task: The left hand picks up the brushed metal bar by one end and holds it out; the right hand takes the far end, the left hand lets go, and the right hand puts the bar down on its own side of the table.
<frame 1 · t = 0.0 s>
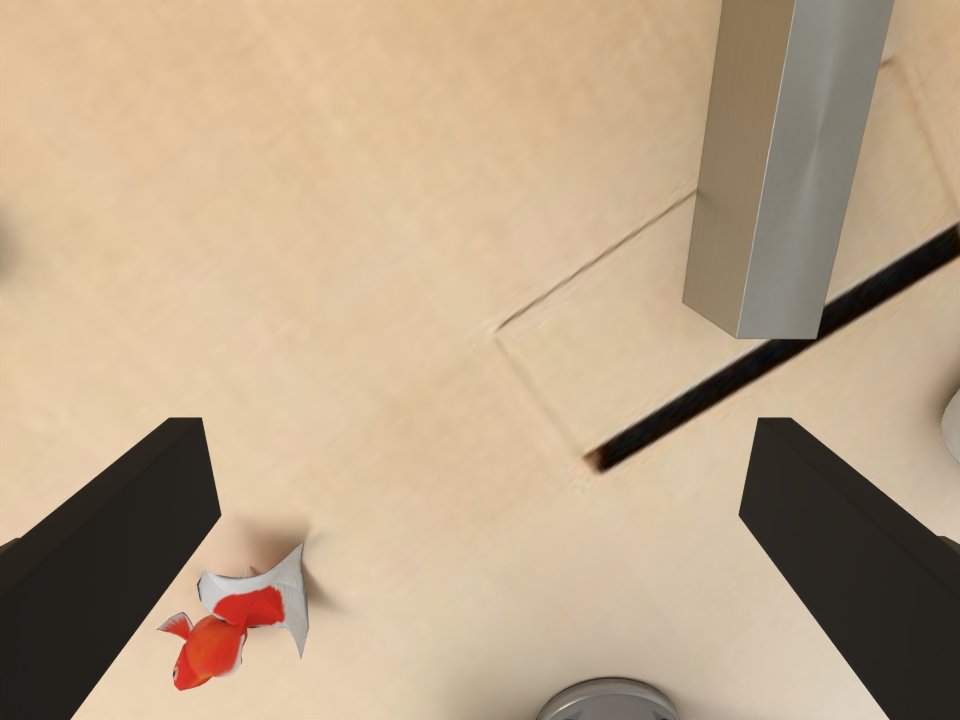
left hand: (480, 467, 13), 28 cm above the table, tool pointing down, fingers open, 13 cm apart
fish: (257, 578, 49), on the table
bar: (738, 145, 36), on the table
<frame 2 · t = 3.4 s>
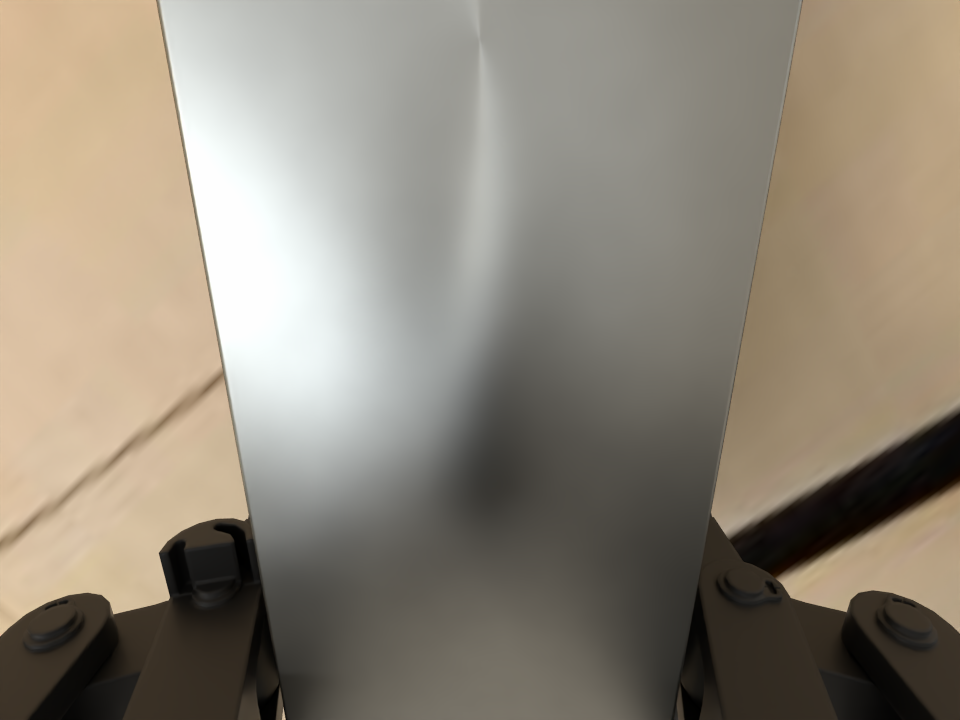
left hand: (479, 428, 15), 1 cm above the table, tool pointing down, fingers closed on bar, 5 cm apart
bar: (479, 125, 12), on the table, touching left hand
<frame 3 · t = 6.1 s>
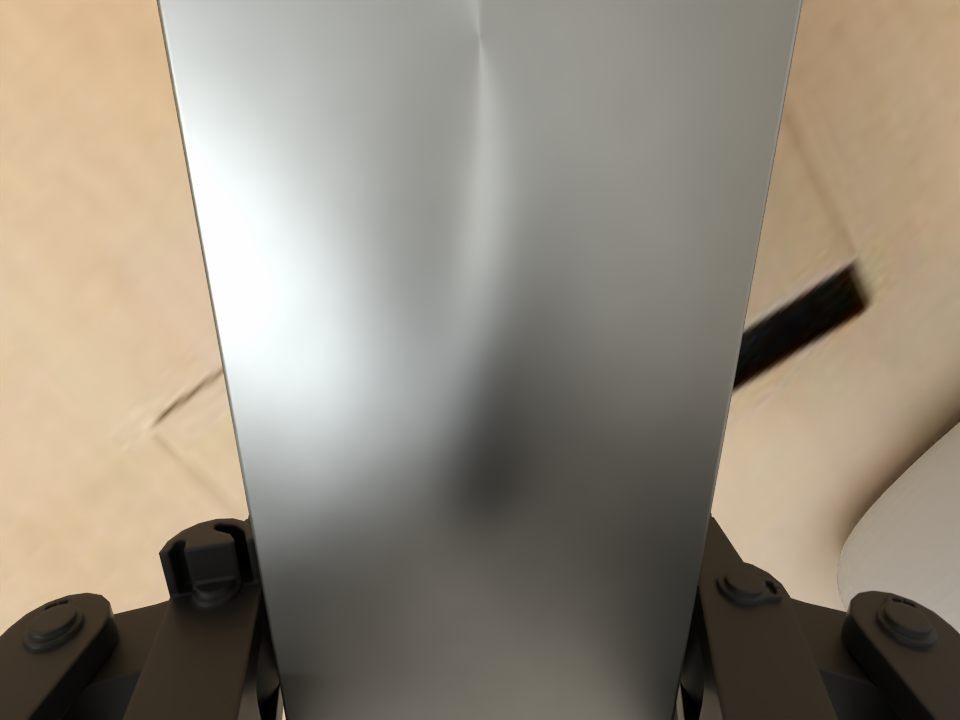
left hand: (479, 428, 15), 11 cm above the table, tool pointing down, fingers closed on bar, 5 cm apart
bar: (479, 124, 12), point 10 cm above the table, touching left hand
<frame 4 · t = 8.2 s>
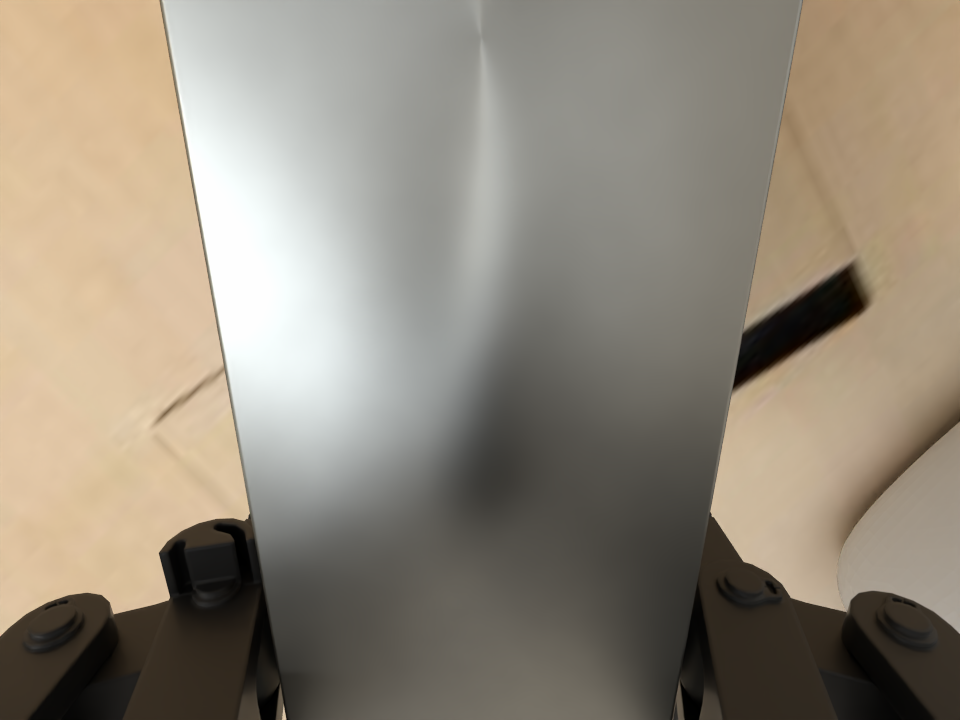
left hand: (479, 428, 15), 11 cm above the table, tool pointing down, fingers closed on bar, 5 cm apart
bar: (480, 124, 12), point 10 cm above the table, touching left hand, right hand
when the left hand's fingers open (11 cm above the table, at t = 9.0 s): bar stays where it is, held by the right hand.
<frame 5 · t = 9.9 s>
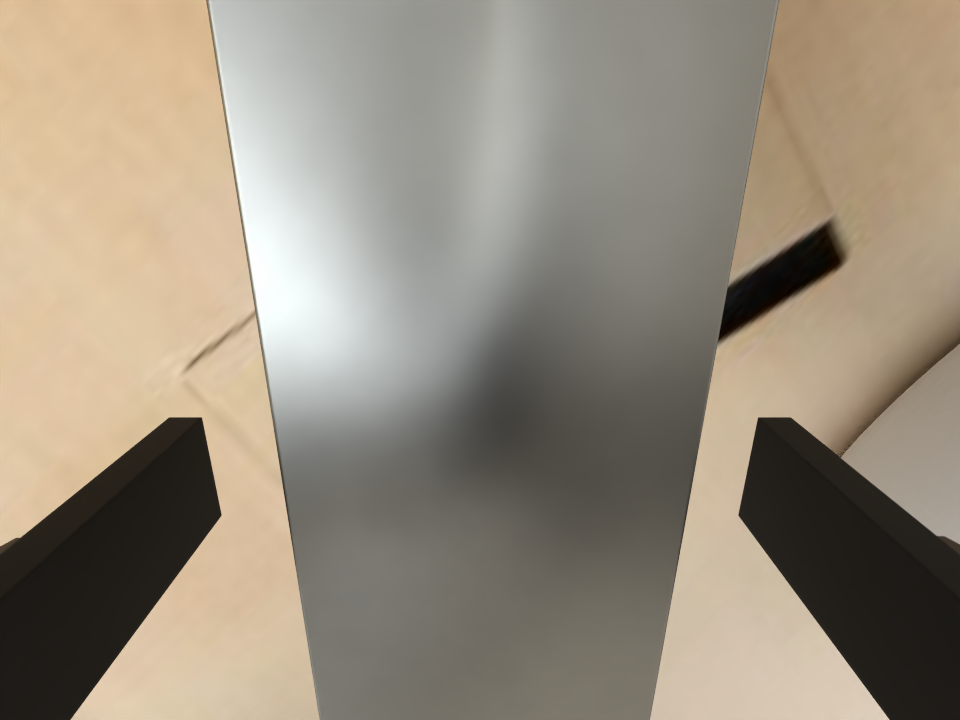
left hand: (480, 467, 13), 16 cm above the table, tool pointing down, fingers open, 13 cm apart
bar: (485, 48, 12), point 12 cm above the table, touching right hand
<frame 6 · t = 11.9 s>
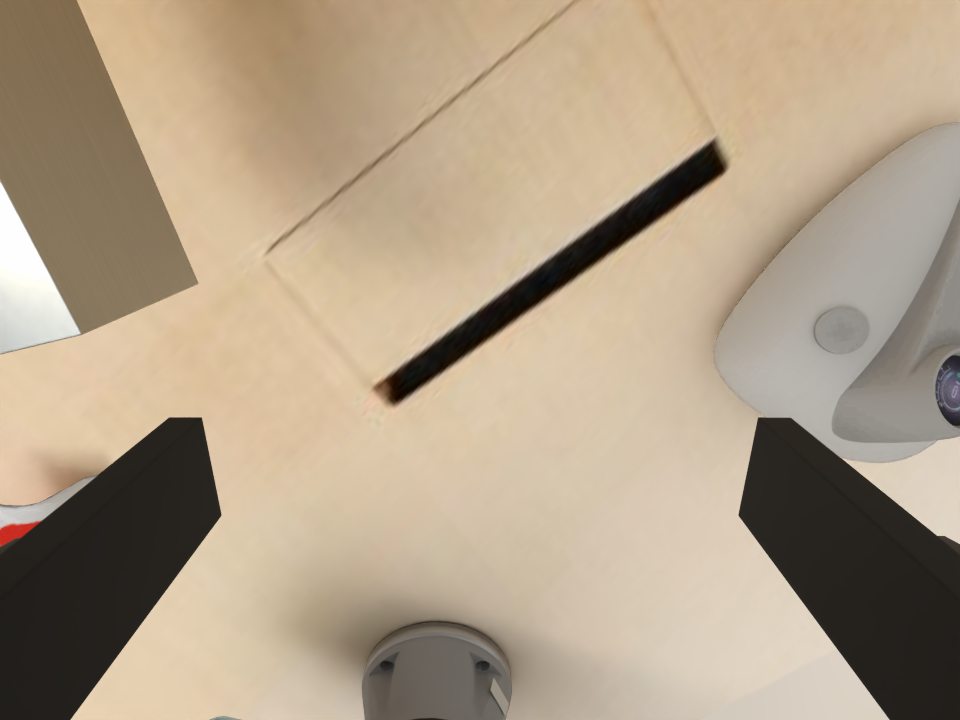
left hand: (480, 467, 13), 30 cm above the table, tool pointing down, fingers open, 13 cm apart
fish: (64, 517, 49), on the table
bar: (54, 70, 25), point 13 cm above the table, touching right hand
projector: (846, 281, 41), on the table
when the right hand's fingers open (4 cm above the table, at t = 15.8 s): bar stays where it is, on the table.
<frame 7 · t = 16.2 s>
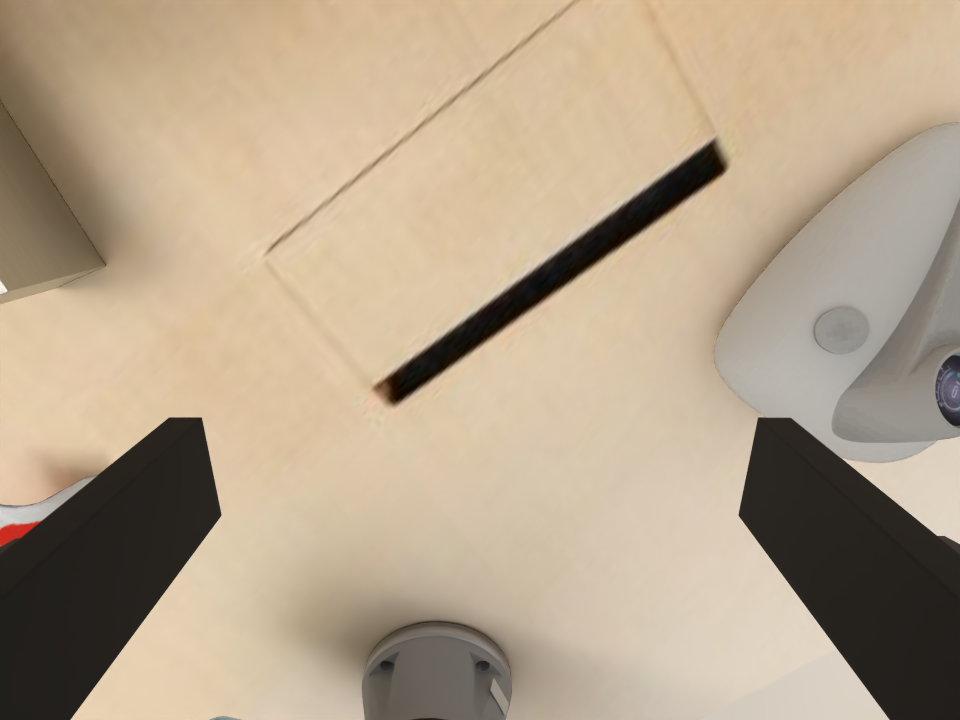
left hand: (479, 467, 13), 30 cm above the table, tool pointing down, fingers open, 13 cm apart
fish: (64, 517, 49), on the table
projector: (846, 281, 41), on the table
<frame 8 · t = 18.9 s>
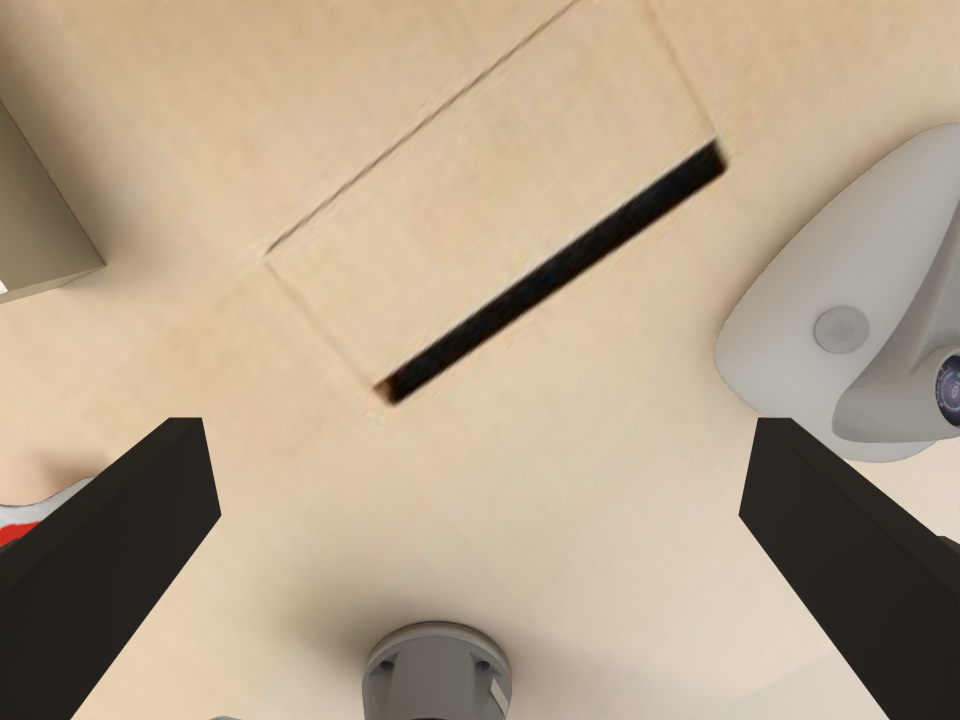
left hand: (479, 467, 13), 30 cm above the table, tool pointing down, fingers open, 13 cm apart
fish: (64, 517, 49), on the table
projector: (846, 281, 41), on the table
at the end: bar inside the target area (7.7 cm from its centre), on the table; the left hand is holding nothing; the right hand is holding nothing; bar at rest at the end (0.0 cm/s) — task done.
